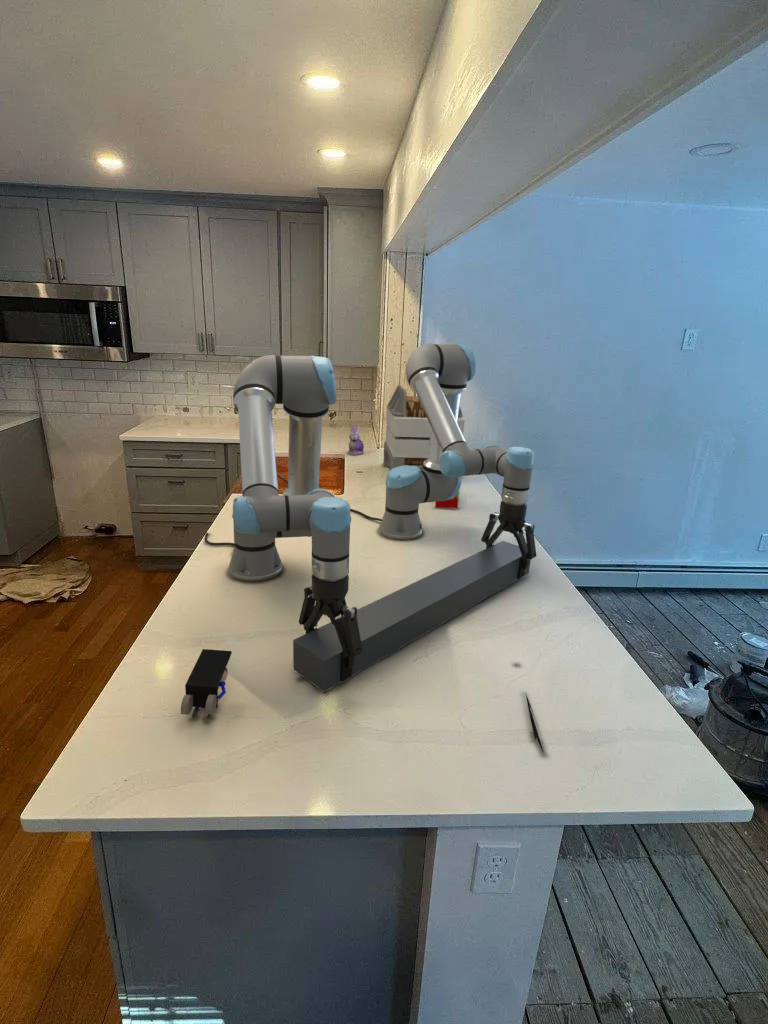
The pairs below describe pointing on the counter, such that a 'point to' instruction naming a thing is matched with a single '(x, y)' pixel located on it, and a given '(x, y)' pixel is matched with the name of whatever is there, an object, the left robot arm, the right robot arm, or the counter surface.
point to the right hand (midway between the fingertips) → (504, 571)
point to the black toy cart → (206, 682)
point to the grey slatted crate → (408, 431)
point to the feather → (534, 723)
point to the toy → (448, 503)
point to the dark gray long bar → (408, 613)
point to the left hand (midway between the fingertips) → (328, 666)
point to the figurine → (355, 442)
